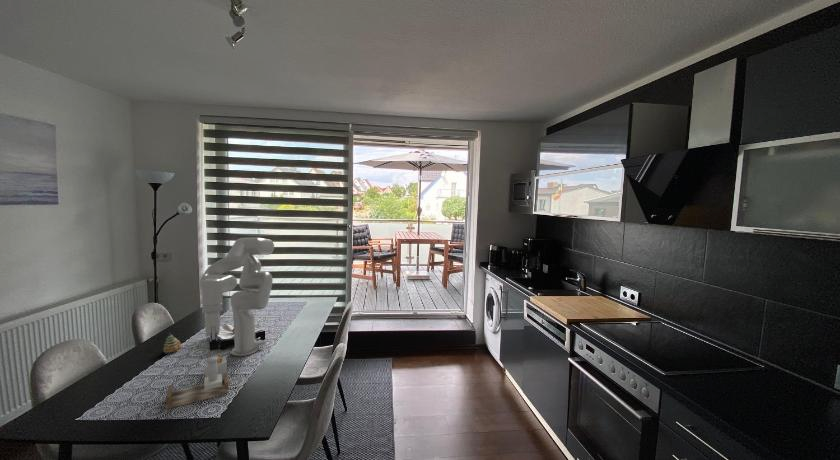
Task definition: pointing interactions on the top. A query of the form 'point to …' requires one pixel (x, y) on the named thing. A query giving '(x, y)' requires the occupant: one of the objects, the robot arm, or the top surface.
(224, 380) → the brown wooden tray
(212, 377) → the grey pedestal
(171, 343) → the ornament
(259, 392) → the top surface
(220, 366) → the white box
